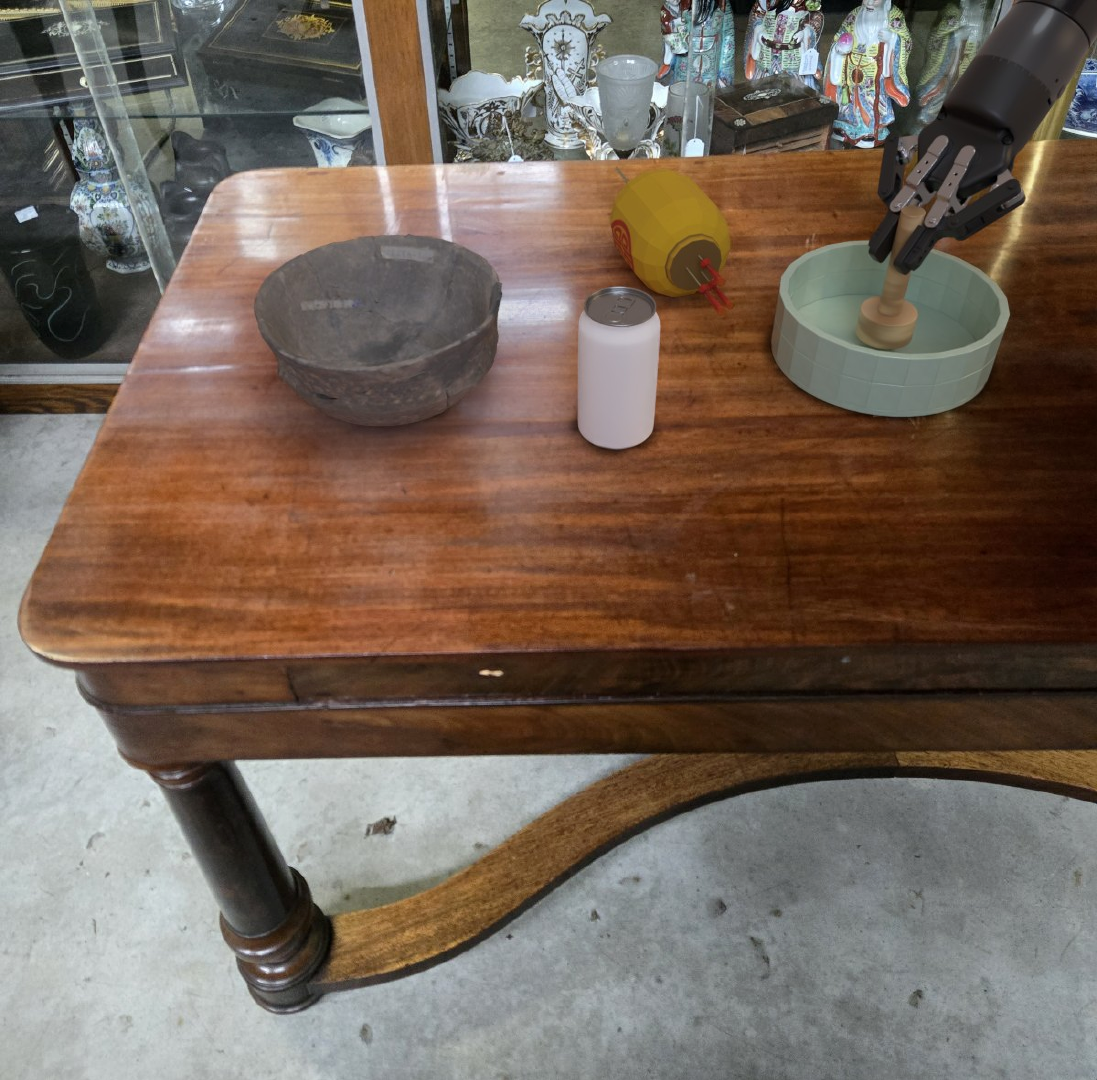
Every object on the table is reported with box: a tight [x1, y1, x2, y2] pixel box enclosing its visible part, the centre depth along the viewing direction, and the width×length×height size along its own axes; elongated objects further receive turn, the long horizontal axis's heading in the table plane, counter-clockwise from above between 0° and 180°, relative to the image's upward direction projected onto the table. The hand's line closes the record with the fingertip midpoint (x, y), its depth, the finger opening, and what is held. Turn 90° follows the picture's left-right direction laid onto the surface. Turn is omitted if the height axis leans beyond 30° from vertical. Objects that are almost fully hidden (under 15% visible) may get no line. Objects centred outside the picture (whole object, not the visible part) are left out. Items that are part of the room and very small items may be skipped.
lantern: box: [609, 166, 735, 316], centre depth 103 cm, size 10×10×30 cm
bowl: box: [253, 233, 503, 427], centre depth 89 cm, size 21×21×10 cm
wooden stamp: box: [856, 206, 926, 349], centre depth 90 cm, size 5×5×12 cm
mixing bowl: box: [770, 239, 1011, 418], centre depth 94 cm, size 20×20×6 cm
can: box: [577, 286, 661, 451], centre depth 84 cm, size 6×6×12 cm
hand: (887, 263), depth 88 cm, fingers closed on wooden stamp
